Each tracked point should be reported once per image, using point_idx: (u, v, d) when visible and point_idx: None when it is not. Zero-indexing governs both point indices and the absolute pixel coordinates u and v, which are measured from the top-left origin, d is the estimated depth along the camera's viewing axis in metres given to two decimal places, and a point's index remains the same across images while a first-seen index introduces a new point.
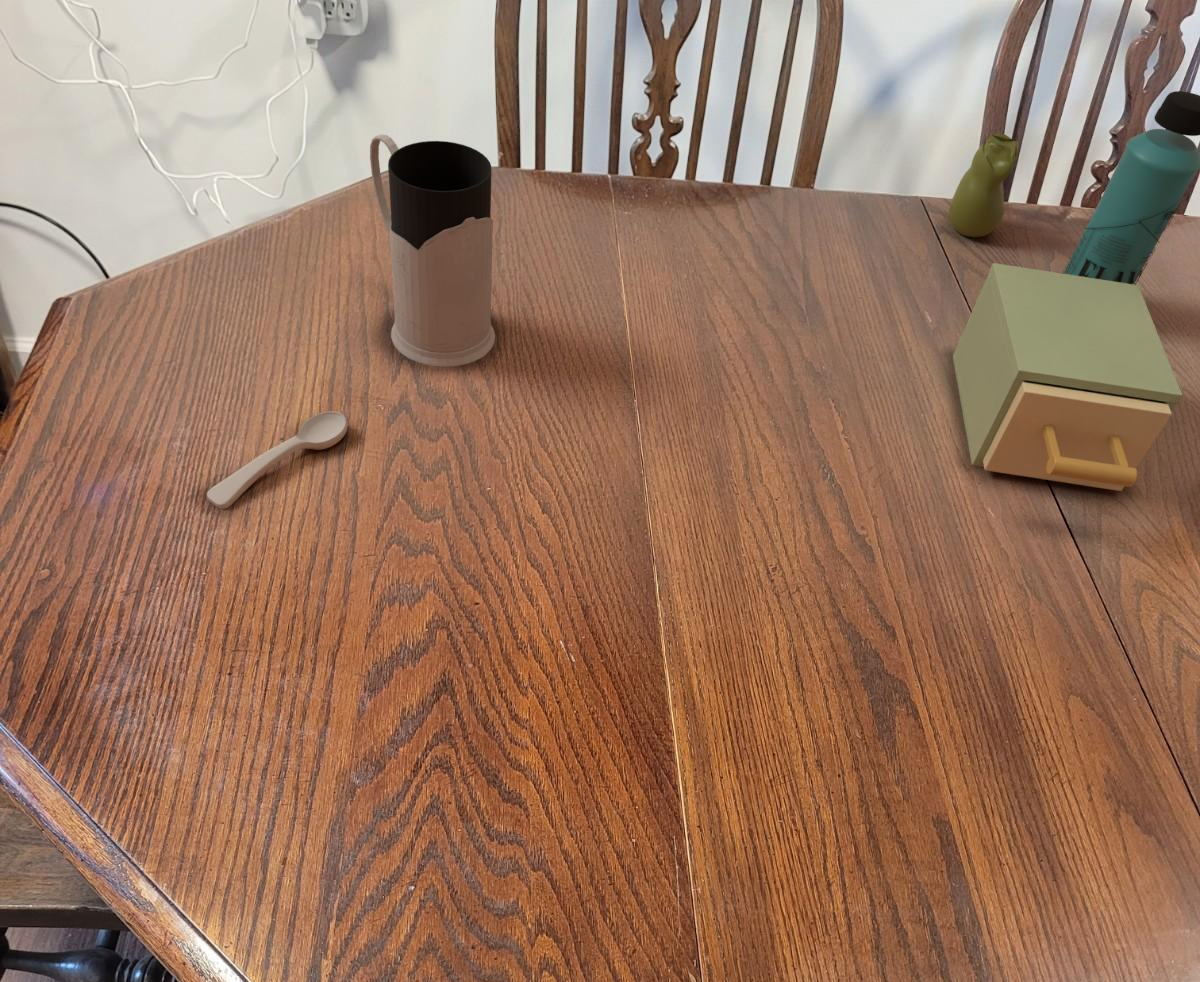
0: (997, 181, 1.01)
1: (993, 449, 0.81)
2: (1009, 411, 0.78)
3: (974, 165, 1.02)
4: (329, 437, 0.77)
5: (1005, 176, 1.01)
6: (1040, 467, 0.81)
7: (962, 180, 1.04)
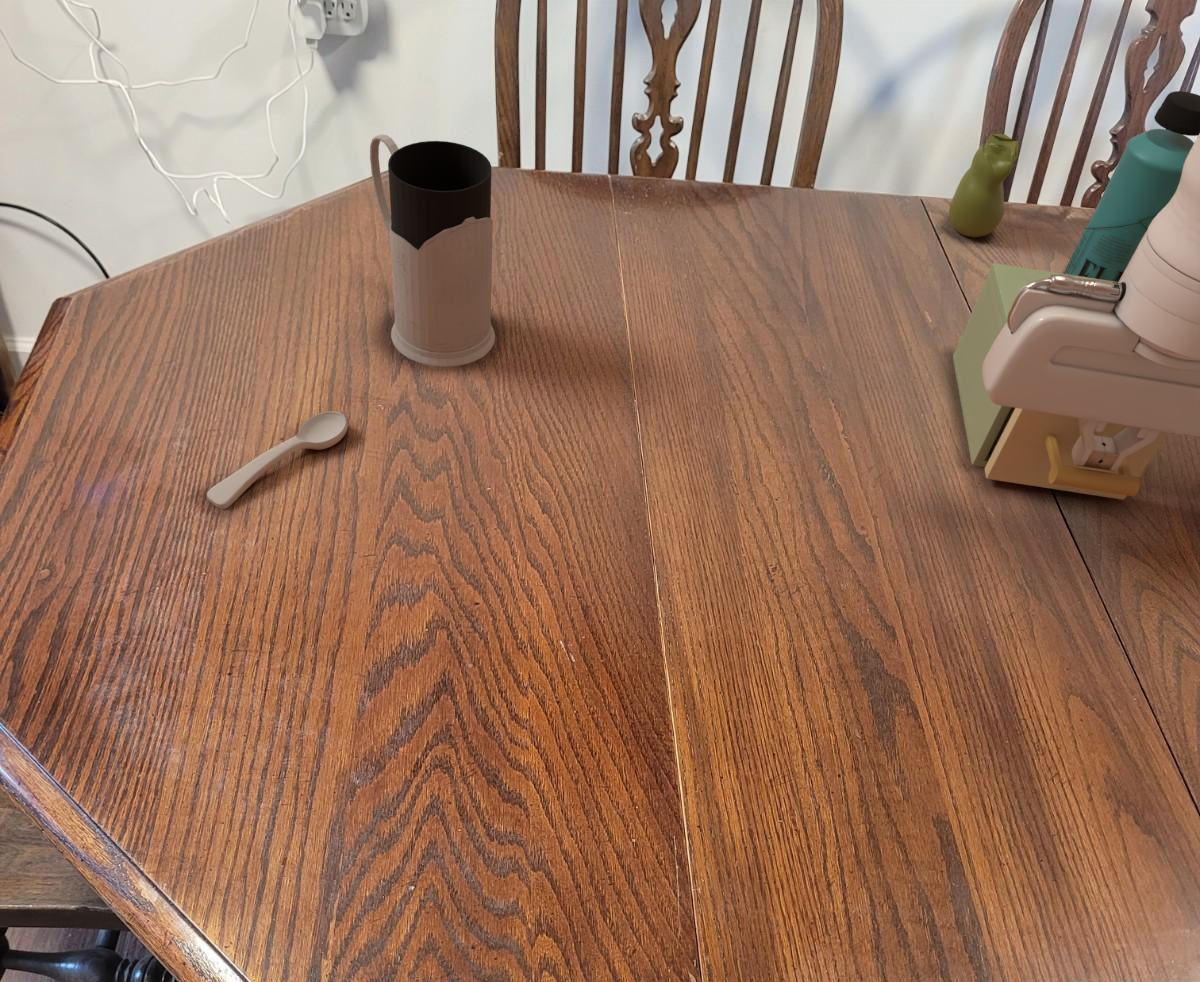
0: (997, 181, 1.01)
1: (995, 457, 0.80)
2: (1011, 419, 0.78)
3: (974, 165, 1.02)
4: (329, 437, 0.77)
5: (1005, 176, 1.01)
6: (1042, 476, 0.80)
7: (962, 180, 1.04)
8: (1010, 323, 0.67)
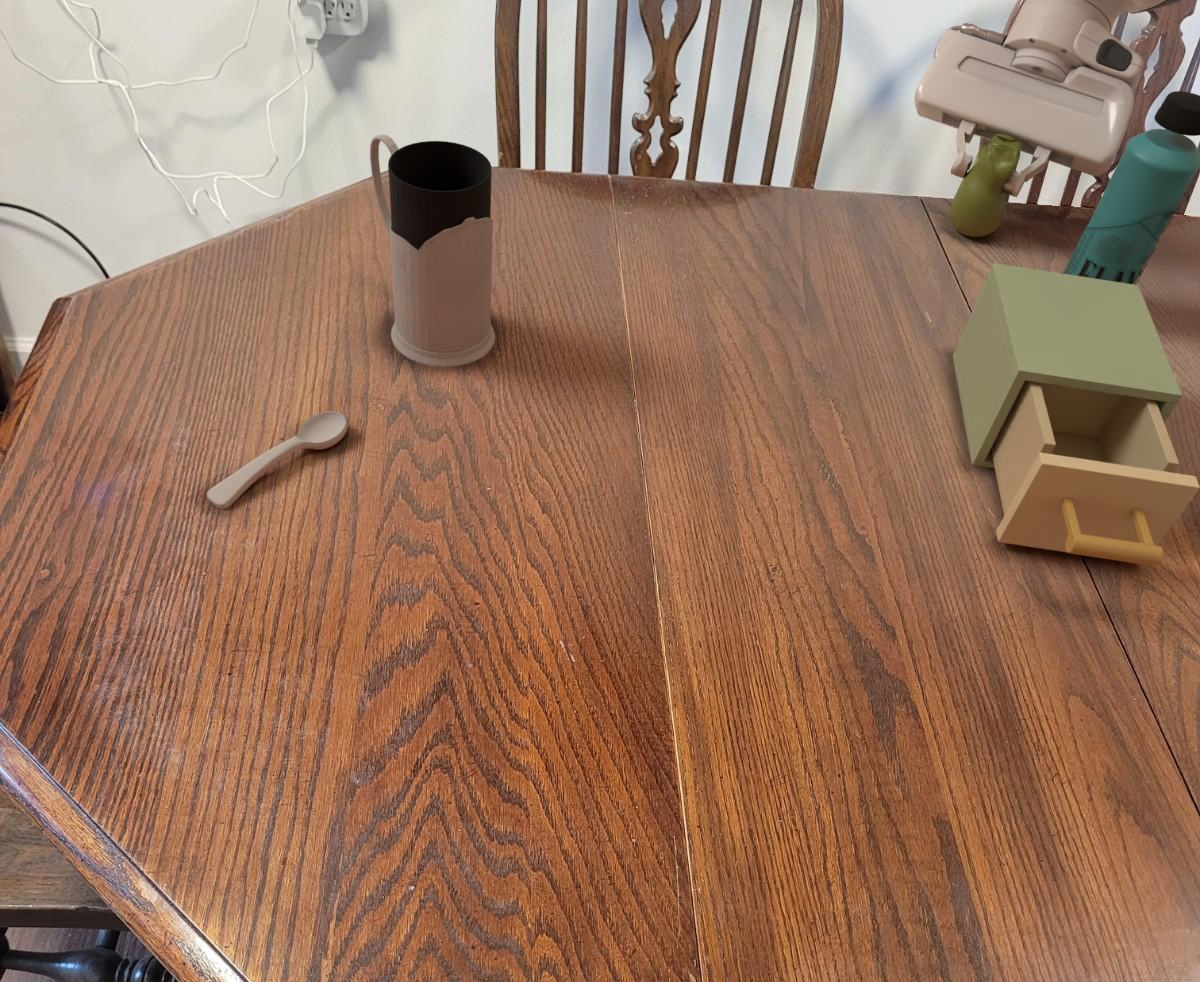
0: (1000, 182, 1.01)
1: (1007, 520, 0.76)
2: (1025, 482, 0.73)
3: (976, 165, 1.02)
4: (329, 437, 0.77)
5: (1007, 177, 1.01)
6: (1057, 539, 0.76)
7: (964, 180, 1.04)
8: (935, 52, 1.04)
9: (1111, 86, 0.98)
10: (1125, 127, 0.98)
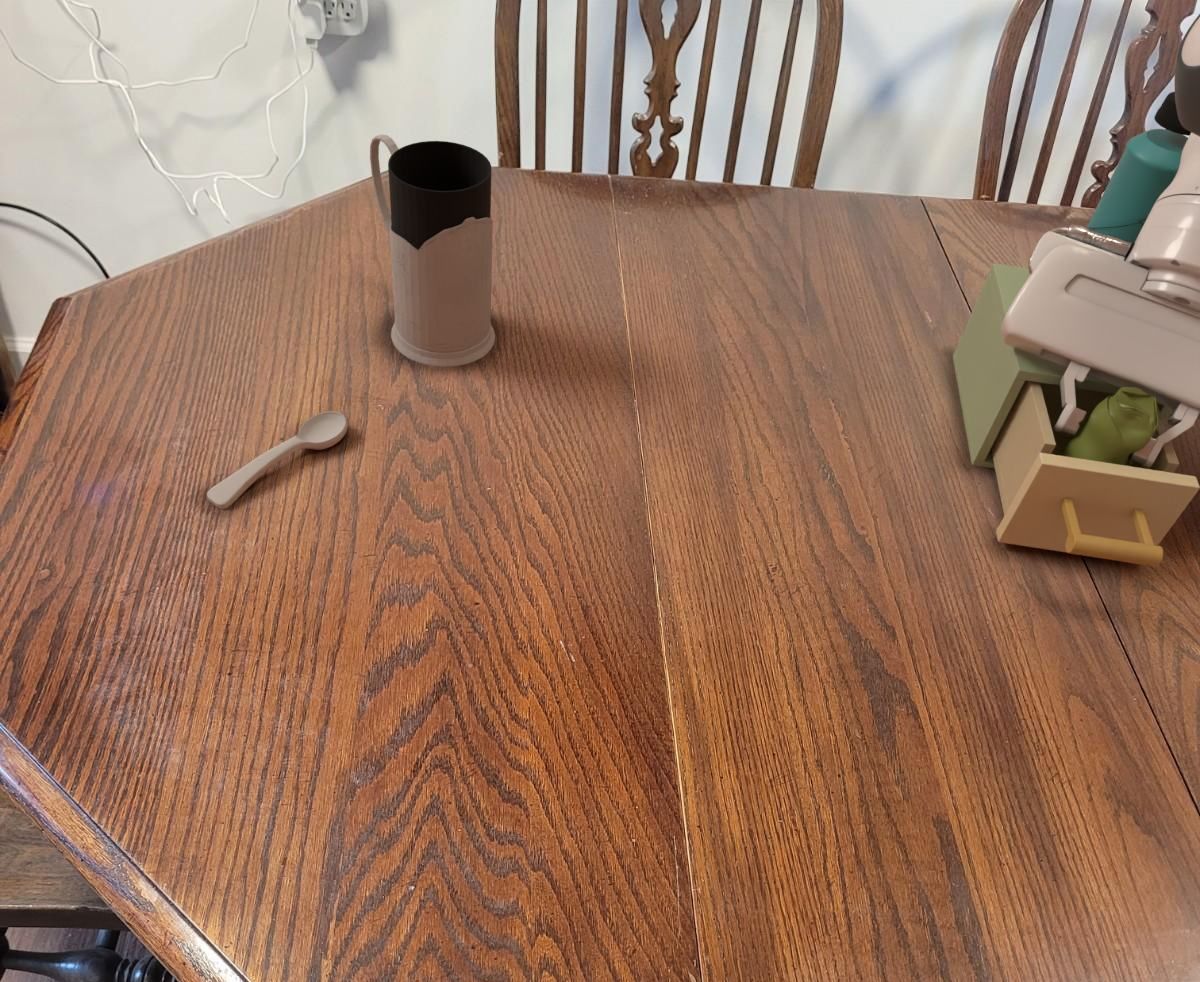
0: (1127, 453, 0.72)
1: (1007, 521, 0.76)
2: (1025, 482, 0.73)
3: (1093, 428, 0.73)
4: (329, 437, 0.77)
5: (1139, 449, 0.71)
6: (1057, 539, 0.76)
7: (1073, 442, 0.75)
8: (1031, 262, 0.75)
9: None
10: None
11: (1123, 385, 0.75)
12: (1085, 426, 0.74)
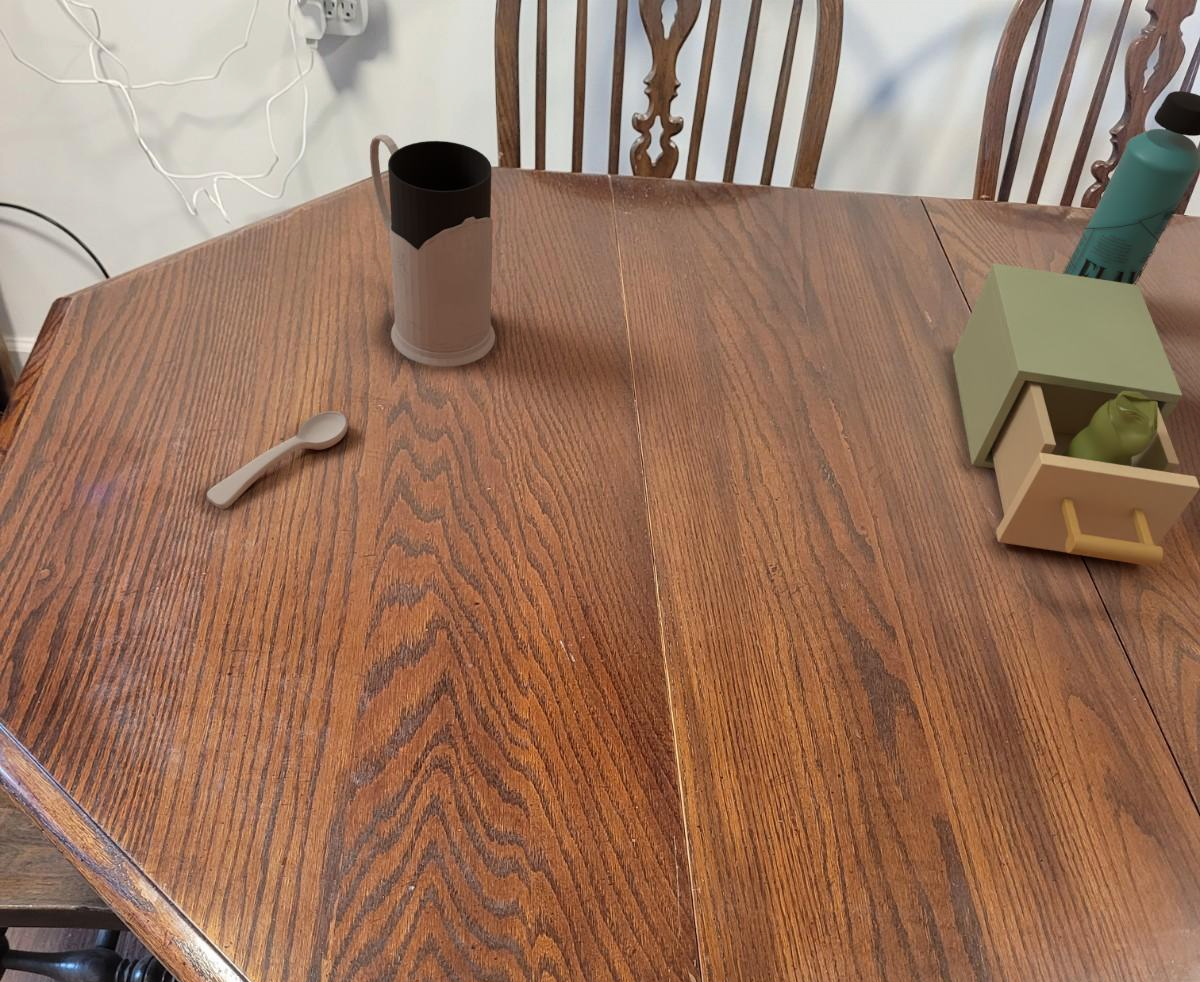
0: (1126, 457, 0.72)
1: (1007, 521, 0.76)
2: (1025, 482, 0.73)
3: (1093, 431, 0.73)
4: (329, 437, 0.77)
5: (1138, 453, 0.71)
6: (1057, 539, 0.76)
7: (1074, 445, 0.75)
8: None
9: None
10: None
11: None
12: (1086, 429, 0.74)
